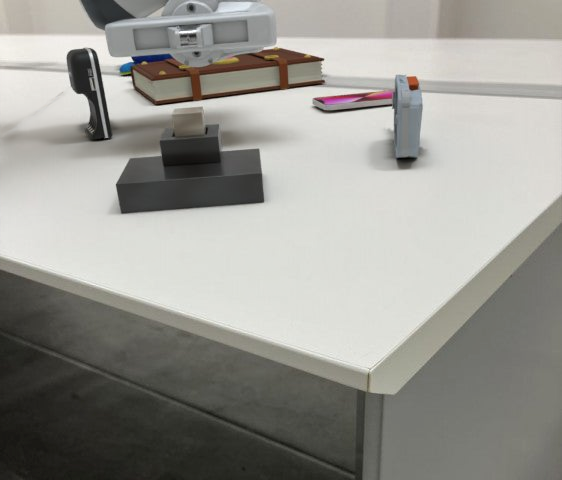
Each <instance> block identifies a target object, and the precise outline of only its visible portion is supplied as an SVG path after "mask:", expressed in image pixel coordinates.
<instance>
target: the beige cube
mask: <svg viewBox="0 0 562 480" xmlns="http://www.w3.org/2000/svg"><path fill="white" fill-rule="evenodd" d="M171 118H172V125H173V127H174V133H175V137H178V136H191V135H205V133H206V128H205V125H206V121H205V112H204V106H194V107H193V106H190V107H179V108H178V107H177V108H173V111H172V114H171Z"/></svg>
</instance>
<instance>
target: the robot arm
mask: <svg viewBox="0 0 562 480" xmlns="http://www.w3.org/2000/svg"><path fill="white" fill-rule="evenodd" d="M78 1H79V4H80V6H81V8H82V10H83V12H84V13H85V15H86V17H87V18H88V19H89V20H90V22H92V24H93V25H94V26H95V27H96V28H97V29H99V30H102V31H104V32H105V33H104V34H105V41H106V45H107V51H108V54H109V55H110V56H111V57H113V58H131V57H132V56H145V55H158V54H170V55H171V56H172V57H173V58H174V59H175V60H177V61H178V62H180V63H182V64H184V65H186V66H190V67H203V66H207V65H209V64H211V63H213V62H218V61H221V60H223V59H226V58H228V57H232V56H238V55H244V54H251V53H255V52H261V51H262V50H265V48H269V47H274V46H275V45H276V44H277V41H278V40H277V39H278V38H277V21H276V20H277V19H276V13H275V11H274V9H273V8H272V7H271V6H270V5H269V4H267V3H266V2H265V3H264V2H261V0H78ZM162 8H163V9H162ZM160 9H162V11H161V15H160V16H151V15H153V14H154V13H156V12H157V11H159V10H160Z"/></svg>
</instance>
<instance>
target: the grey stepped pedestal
mask: <svg viewBox="0 0 562 480" xmlns="http://www.w3.org/2000/svg"><path fill="white" fill-rule="evenodd" d="M205 128H206V133H205V135H191V136H178V137H175V133H174V126H173V127H164V128H163V132H162V134H161V136H160V139H159V140H158V141H159V147H160V155H155V156H142V157H140V156H139V157H130V158H129V159H128V161H127V163H126V165H125V167H124V168H123V170H122V171H121V174H120V175H119V177H118V179H117V181H116V182H115V189H116V194H117V198H118V204H119V210H120V213H121V214H133V213H147V212H159V211H171V210H172V211H173V210H183V209H196V208H197V209H199V208H210V207H224V206H225V207H226V206H236V205H237V206H238V205H248V204H250V205H251V204H261V203H265V194H264V181H263V180H264V179H263V170H262V160H261V152H260V151H261V150H260V148H247V149H235V150H233V149H232V150H223V144H222V135H221V126H220V124H219V123H213V124H205Z"/></svg>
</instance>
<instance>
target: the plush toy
mask: <svg viewBox="0 0 562 480" xmlns="http://www.w3.org/2000/svg"><path fill="white" fill-rule="evenodd" d="M130 58H131V60H132V61H129V62H126V63H124V64H122V65H121V66H120V67H119V74H120V75H128V74H131V70H130V66H133V65H135V64H140V63H142V62H147V63H149V62H158V61H164V60H165V59H174V58H173V57H172V56H171V55H170V54H158V55H145V56H132V57H130ZM174 60H175V59H174Z"/></svg>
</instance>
